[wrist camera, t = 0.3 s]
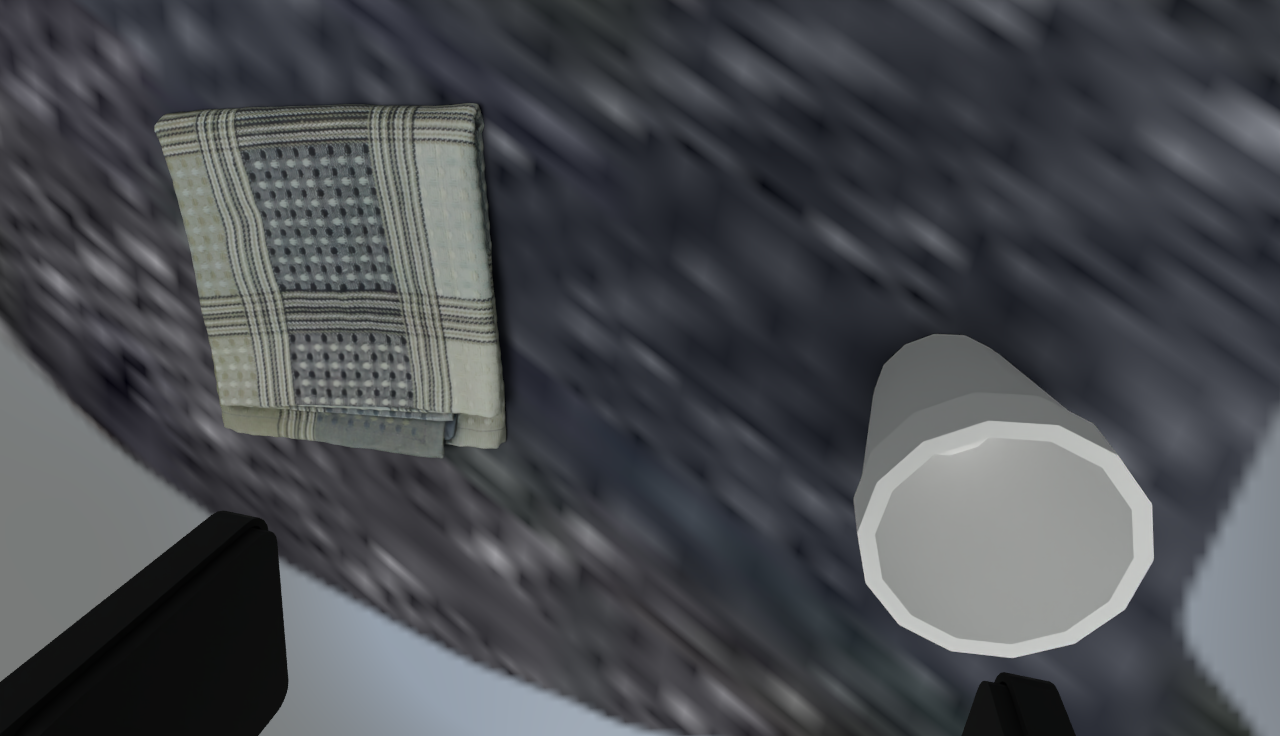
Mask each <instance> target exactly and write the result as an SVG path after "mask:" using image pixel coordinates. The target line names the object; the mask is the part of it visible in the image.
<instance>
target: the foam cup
mask: <svg viewBox="0 0 1280 736" xmlns="http://www.w3.org/2000/svg"><path fill="white" fill-rule="evenodd" d="M853 499H854V508H855V517H856V526H857V535H858V541H859V546H860V552H861V558H862V564H863V570H864V576H865V582H866V584H867V585H868V587H869V588H870V589H871V590H872V592H873V593H874V594H875V595H876V597H877V598H878V599H879V600H880V602H881V603H882V604H883V605H884V607H885V608H886V609H887V610H888V612H889V613H890V614H891V615H892V617H893V618H894V619H895V620H896V622H897V623H898V624H899V625H901V626H903V627H904V628H906V629H908V630H910V631H912V632H914V633H916V634H918V635H920V636H922V637H924V638H926V639H928V640H930V641H932V642H934V643H936V644H938V645H940V646H942V647H944V648H946V649H948V650H950V651H955V652H963V653H972V654H981V655H990V656H999V657H1008V658H1015V657H1019V656H1024V655H1028V654H1032V653H1036V652H1041V651H1045V650H1049V649H1054V648H1058V647H1062V646H1067V645H1071V644H1075V643H1076V642H1078V641H1079V640H1081V639H1082V638H1084V637H1085V636H1087V635H1088V634H1089V633H1091V632H1092V631H1094V630H1095V629H1097V628H1098V627H1100V626H1101V625H1103V624H1104V623H1106V622H1107V621H1109V620H1110V619H1112V618H1113V617H1115V616H1116V615H1117V614H1119V613H1120V612H1122V611H1123V610H1125V609H1126V607H1127V605H1128V603H1129V602H1130V600H1131V598H1132V597H1133V595H1134V593H1135V591H1136V590H1137V588H1138V586H1139V584H1140V583H1141V581H1142V579H1143V577H1144V576H1145V574H1146V572H1147V571H1148V569H1149V567H1150V565H1151V564H1152V562H1153V560H1154V551H1153V519H1152V504H1151V502H1150V501H1149V499H1148V498H1147V496H1146V495H1145V493H1144V492H1143V491H1142V489H1141V488H1140V486H1139V485H1138V483H1137V482H1136V481H1135V479H1134V478H1133V476H1132V475H1131V473H1130V472H1129V470H1128V469H1127V468H1126V466H1125V465H1124V463H1123V462H1122V460H1121V459H1120V457H1119V456H1118V455H1117V453H1116V452H1115V451H1114V449H1113V448H1112V447H1111V446H1110V444H1109V443H1108V442H1107V440H1106V439H1105V438H1104V436H1103V435H1102V434H1101V432H1100V431H1099V430H1098V429H1097V427H1096V426H1095V425H1094V424H1093V423H1091V422H1089V421H1087V420H1085V419H1083V418H1082V417H1080V416H1078V415H1076V414H1074V413H1072V412H1070V411H1068V410H1067V409H1066V408H1064V407H1063V406H1062V405H1061V404H1060V403H1058V402H1057V401H1056V400H1055V399H1053V398H1052V397H1051V396H1050V395H1048V394H1047V393H1046V392H1045V391H1044V390H1042V389H1041V388H1040V387H1039V386H1037V385H1036V384H1035V383H1034V382H1033V381H1031V380H1030V379H1029V378H1028V377H1026V376H1025V375H1024V374H1023V373H1021V372H1020V371H1019V370H1018V369H1017V368H1015V367H1014V366H1013V365H1012V364H1010V363H1009V362H1008V361H1007V360H1006V359H1004V358H1003V357H1002V356H1001V355H999V354H998V353H997V352H995V351H993V350H992V349H991V348H989V347H987V346H985V345H983V344H981V343H979V342H977V341H975V340H973V339H972V338H970V337H968V336H966V335H947V334H932V335H930V336H927V337H924V338H921V339H919V340H916V341H913V342H911V343H908V344H905V345H904V346H903V347H902V348H901V349H900V350H899V351H898V352H897V353H895V354H894V355H893V356H892V357H891V358H890V359H889V360H888V361H887V362H886V363H885V364H884V365H883V368H882V370H881V373H880V376H879V378H878V381H877V384H876V387H875V389H874V394H873V400H872V407H871V414H870V421H869V429H868V436H867V443H866V451H865V458H864V465H863V472H862V477H861V480H860V483H859V485H858V488H857V491H856V493H855V496H854V498H853Z"/></svg>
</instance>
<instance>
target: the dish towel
mask: <svg viewBox="0 0 1280 736" xmlns="http://www.w3.org/2000/svg"><path fill="white" fill-rule="evenodd" d="M483 129H484V123H483V116H482V114H481V110H480V107H479V105H478V104H474V103H465V104H457V105H443V106H381V105H365V104H363V105H362V104H342V105H323V106H286V107H245V108H236V109H207V110H196V111H191V112H177V113H170V114H165V115H164V116H162V117H161V118H160V119H159V121H158V122H157V123H156V125H155V133H156V135H157V137H158V139H159V141H160V143H161V147H162V150H163V153H164V156H165V159H166V162H167V166H168V169H169V171H170V174H171V177H172V179H173V184H174V189H175V192H176V195H177V198H178V203H179V207H180V210H181V214H182V217H183V222H184V225H185V230H186V233H187V237H188V242H189V245H190V250H191V255H192V260H193V266H194V270H195V275H196V281H197V287H198V293H199V298H200V304H201V310H202V314H203V318H204V322H205V325H206V328H207V332H208V336H209V343H210V346H211V349H212V358H213V361H214V371H215V377H216V380H217V391H218V394H219V399H220V406H221V408H222V418H223V422H224V426H225V428H229V429H232V430H234V431H236V432H238V433H247V434H251V435H263V436H274V437H288V438H292V439H306V440H312V441H319V442H327V443H330V444H335V445H343V446H347V447H351V448H356V447H357V448H367V449H376V450H380V451H387V452H393V453H401V454H407V455H414V456H419V457H439V458H443V457H444V454H445V449H444V444H451V445H455V446H461V447H462V446H473V447H478V448H484V449H486V448H498V447H499V445H500V444H501V443H503V442H506V426H505V397H504V381H503V376H502V364H501V351H500V345H499V333H498V328H497V313H496V306H495V295H494V287H493V278H492V258H491V248H492V243H491V238H490V222H489V218H488V201H487V196H486V182H485V173H484V171H485V163H484V157H483V148H484V146H483V140H482V131H483Z"/></svg>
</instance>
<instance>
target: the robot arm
mask: <svg viewBox="0 0 1280 736" xmlns="http://www.w3.org/2000/svg"><path fill="white" fill-rule="evenodd" d="M287 689H288V670H287V658H286V645H285V634H284V620H283V608H282V596H281V583H280V571H279V559H278V546H277V539H276V536H275V534H274V533H273V532H270V531H268V526H267V524H266V523H265V521H264V520H262V519H260V518H257V517H252V516H247V515H242V514H237V513H233V512H228V511H218V512H216V513H215V514H213V515H211V516H210V517H209V518H207V519H206V520H205V521H204V522H202V523H201V524H200V525H198V526H197V527H196V528H195V529H193V530H192V531H191V532H190V533H189V534H187V535H186V536H185V537H183V538H182V539H181V540H179V541H178V542H177V543H176V544H174V545H173V546H172V547H171V548H169V549H168V550H167V551H166V552H164V553H163V554H162V555H160V556H159V557H158V558H157V559H155V560H154V561H153V562H152V563H150V564H149V565H148V566H147V567H145V568H144V569H143V570H142V571H140V572H139V573H138V574H136V575H135V576H134V577H133V578H132V579H130V580H129V581H128V582H127V583H125V584H124V585H122V586H121V587H120V588H119V589H117V590H116V591H115V592H114V593H112V594H111V595H110V596H109V597H107V598H106V599H105V600H103V601H102V602H101V603H100V604H98V605H97V606H96V607H95V608H93V609H92V610H91V611H90V612H88V613H87V614H86V615H85V616H83V617H82V618H81V619H80V620H78V621H77V622H76V623H74V624H73V625H72V626H71V627H69V628H68V629H67V630H66V631H64V632H63V633H62V634H60V635H59V636H58V637H57V638H55V639H54V640H53V641H52V642H50V643H49V644H48V645H46V646H45V647H44V648H43V649H42V650H40V651H39V652H38V653H36V654H35V655H34V656H33V657H31V658H30V659H29V660H27V661H26V662H25V663H24V664H22V665H21V666H20V667H19V668H17V669H16V670H15V671H14V672H13V673H11V674H10V675H9V676H7V677H6V678H5V679H3V680H2V681H1V682H0V736H258V735H259V734H260V733H261V732H262V730H263V729H264V728H265V727H266V725H267V724H268V723H269V721H270V720H271V719H272V718H273V716H274V715H275V714H276V713H277V711H278V710H279V708H280V707H281V705H282V703H283V701H284V699H285V696H286V693H287ZM962 736H1076V735H1075V733H1074V730H1073V728H1072V725H1071V723H1070V720H1069V717H1068V715H1067V712H1066V710H1065V707H1064V705H1063V702H1062V700H1061V697H1060V695H1059V692H1058V690H1057V689H1056V687H1055V685H1054V684H1052V683H1051V682H1049V681H1044V680H1039V679H1034V678H1029V677H1025V676H1020V675H1015V674H1010V673H1005V672H1003V673H1000V674H999V675H998V676H997V678H996V680H995V682H994V683H993V682H988V681H983V682H982V683H981V684H980V685H979V688H978V690H977V693H976V696H975V699H974V702H973V704H972V707H971V710H970V713H969V716H968V719H967V722H966V725H965V728H964V731H963V733H962Z"/></svg>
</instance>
